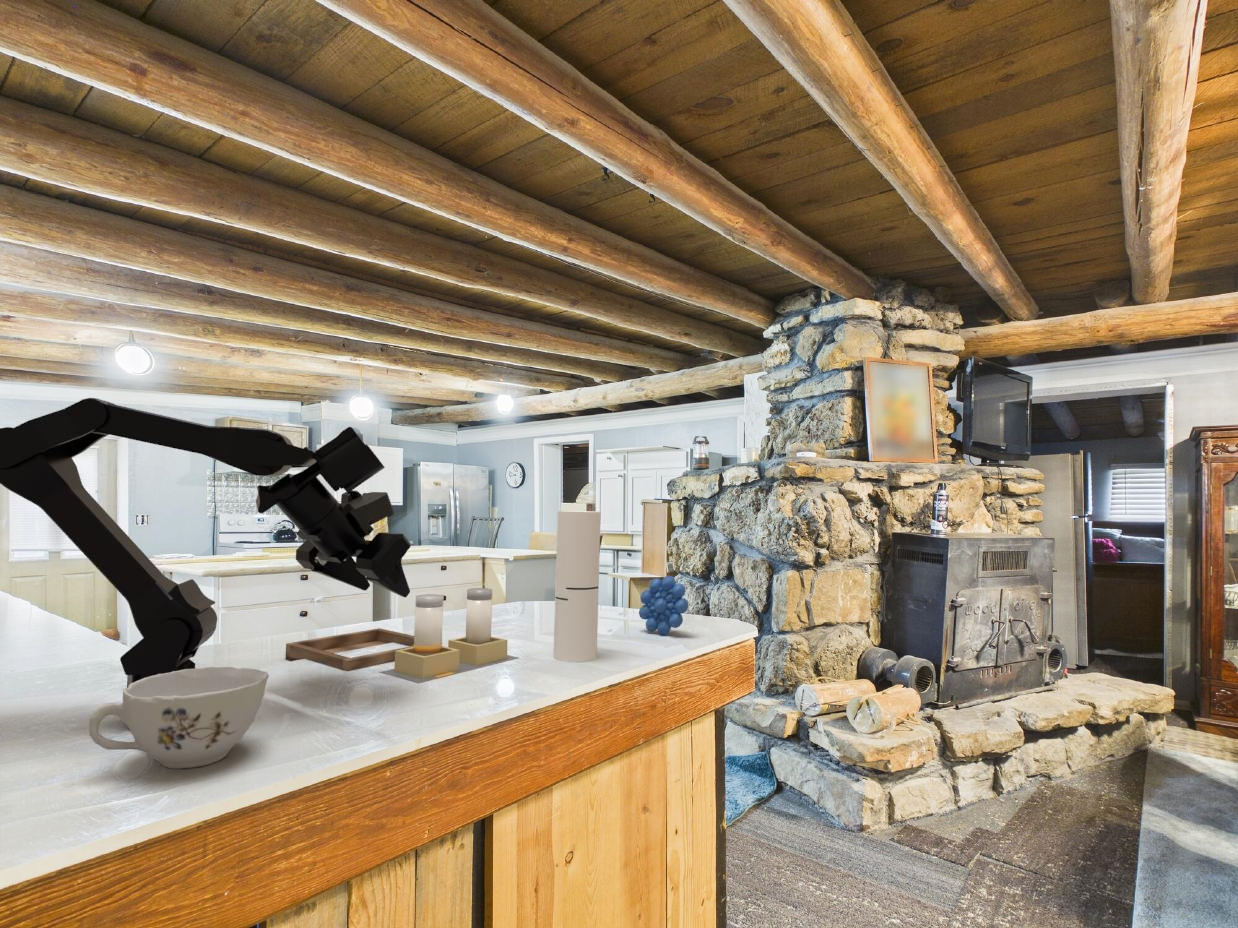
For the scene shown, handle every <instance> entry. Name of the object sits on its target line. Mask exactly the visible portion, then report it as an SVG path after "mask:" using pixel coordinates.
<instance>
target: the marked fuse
mask: <svg viewBox="0 0 1238 928" xmlns="http://www.w3.org/2000/svg"><path fill="white" fill-rule="evenodd" d="M443 617H444V595H442V594H436V593H433V594H432V593H431V594H429V593H428V594H418V595H416V596H415V609H414V632H413V633H414V635H413V636H414V647H413V651H414V654H417V655H421V656H428V655H433V654H438V653H441V651H442V646H443Z"/></svg>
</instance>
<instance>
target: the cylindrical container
mask: <svg viewBox="0 0 1238 928" xmlns="http://www.w3.org/2000/svg"><path fill="white" fill-rule="evenodd" d="M601 513H602V512H601V511H595V510H594V511H593V510H557V522H556V524H557V525H556V526H557V527H556V528H557V529H556V530H557V531H556V557H555V560H556V562H555V587H554V588H555V589H554V591H555V593H554V594H555V595H554V596H555V597H554V623H553V624H554V628H553V629H554V630H553V631H554V632H553V659H554V660H556V661H558V662H563V663H574V664H575V663H577V664H578V663H589V662H593V661H595V660H596V659H597V658H598V627H599V625H598V624H599V622H598V620H599V591H600V590H599V589H600V588H599V585H600V550H601V549H600V546H601Z"/></svg>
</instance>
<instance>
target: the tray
mask: <svg viewBox="0 0 1238 928" xmlns="http://www.w3.org/2000/svg"><path fill="white" fill-rule="evenodd" d="M393 643H394V644H398V645H402V646H405V647H400V648H396V649H391V650H385V651H379V652H373V653H369V654H365V655H363V654H362V655H359V656H354V657H347V656H345V655H342V654H339V653H343V652H344V653H345V652H349V651H354V650H359V649H360V650H361V649H367V648H370V647H371V648H372V647H376V646H381V645H387V644H393ZM411 647H414V635H412V634H409V633H408V634H406V633H403V632H397V631H393V630H388V629H383V628H374V629H368V630H367V629H366V630H363V631H362V630H360V631H354V632H350V633H342V634H336V635H329V636H324V637H318V638H317V637H316V638H311V639H307V640H305V639H304V640H299V641H294V642H293V641H292V642H288V643H286V644H285V655H284V656H285V660H287V661H291V662H295V661H300V660H308V661H311V662H313V663H318V664H320V665H325V666H328V667H331V668H334V669H339V670H341V671H345V672H351V671H357V670H361V669H364V668H370V667H374V666H379V665H384V664H390V663H395V651H396V650H401V649H406V648H411Z"/></svg>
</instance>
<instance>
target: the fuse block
mask: <svg viewBox="0 0 1238 928" xmlns="http://www.w3.org/2000/svg"><path fill="white" fill-rule="evenodd" d="M465 640H466V636H464V637H459V638H458V637H457V638H453V639H452V638H451V639H448V641H447V642H448V646H443V645H442V651H441V653H438V654H433V655H428V656H421V655H417V654H414V651H413V647H411V648H406V649H401V650H396V651H395V661H394V667H393V668H391V669H388V670H383V671H379V673H381V674H384V675H387V676H389V677H390V676H391V677H395V678H398V679H402V680H405V681H408V682H413V683H416V684H422V683H426V682H430V681H434V680H438V679H442V678H447V677H450V676H453V675H458V674H462V673H465V672H469V671H470V672H471V671H473V670H478V669H482V668H486V667H490V666H493V665H499V664H502V663H506V662H509V661H513V660H518V659H520V657H518V656H514V655H510V654H509V655H508V639H505V638H502V637H495V636H492V635H491V642H489V643H485V644H480V645H474V644H470V643H465Z"/></svg>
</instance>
